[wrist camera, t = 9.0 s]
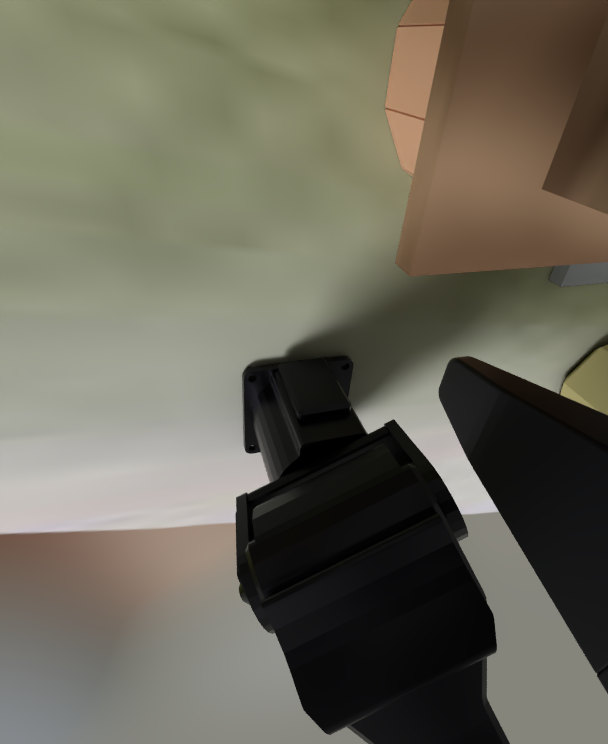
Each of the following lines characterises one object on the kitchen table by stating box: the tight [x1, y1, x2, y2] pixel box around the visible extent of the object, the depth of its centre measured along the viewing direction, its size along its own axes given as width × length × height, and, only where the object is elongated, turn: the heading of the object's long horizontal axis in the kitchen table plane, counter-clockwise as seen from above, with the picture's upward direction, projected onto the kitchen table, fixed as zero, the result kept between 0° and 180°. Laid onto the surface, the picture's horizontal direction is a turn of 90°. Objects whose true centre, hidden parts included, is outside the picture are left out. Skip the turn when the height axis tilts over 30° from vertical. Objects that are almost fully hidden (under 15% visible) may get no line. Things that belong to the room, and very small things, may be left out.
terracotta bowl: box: [385, 0, 449, 177], centre depth 17 cm, size 10×10×5 cm
